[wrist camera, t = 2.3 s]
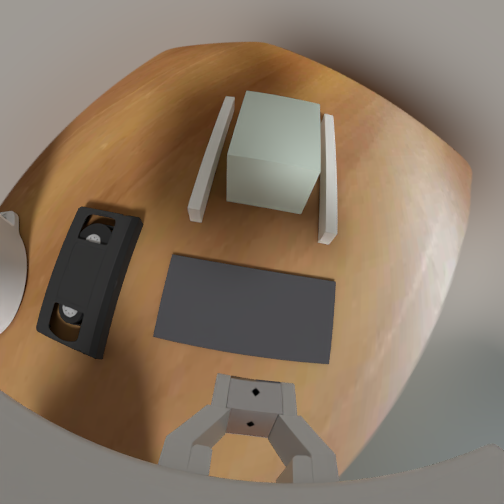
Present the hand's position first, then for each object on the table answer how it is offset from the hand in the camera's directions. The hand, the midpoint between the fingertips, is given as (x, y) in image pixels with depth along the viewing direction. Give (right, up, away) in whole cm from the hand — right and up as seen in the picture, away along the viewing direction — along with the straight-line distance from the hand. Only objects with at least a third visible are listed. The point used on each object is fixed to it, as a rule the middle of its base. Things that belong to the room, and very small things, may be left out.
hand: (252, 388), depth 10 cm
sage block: (+2, +15, +21) cm, 26 cm away
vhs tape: (-17, +2, +15) cm, 23 cm away
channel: (+1, +10, +19) cm, 22 cm away
